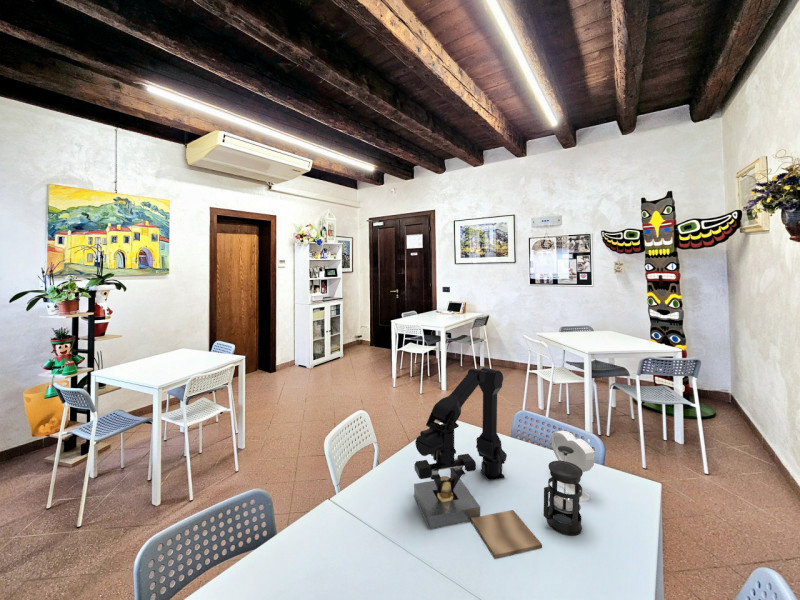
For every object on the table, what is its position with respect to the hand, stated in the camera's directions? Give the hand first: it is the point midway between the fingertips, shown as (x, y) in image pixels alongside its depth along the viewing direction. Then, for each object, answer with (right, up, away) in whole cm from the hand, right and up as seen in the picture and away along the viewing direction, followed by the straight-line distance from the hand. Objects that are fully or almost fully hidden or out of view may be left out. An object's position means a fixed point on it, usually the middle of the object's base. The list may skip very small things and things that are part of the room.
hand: (445, 491), depth 109 cm
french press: (+33, -5, -8) cm, 35 cm away
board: (+15, -6, -11) cm, 20 cm away
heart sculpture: (+44, -4, +9) cm, 45 cm away
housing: (0, -5, 0) cm, 5 cm away
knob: (0, -5, 0) cm, 5 cm away
